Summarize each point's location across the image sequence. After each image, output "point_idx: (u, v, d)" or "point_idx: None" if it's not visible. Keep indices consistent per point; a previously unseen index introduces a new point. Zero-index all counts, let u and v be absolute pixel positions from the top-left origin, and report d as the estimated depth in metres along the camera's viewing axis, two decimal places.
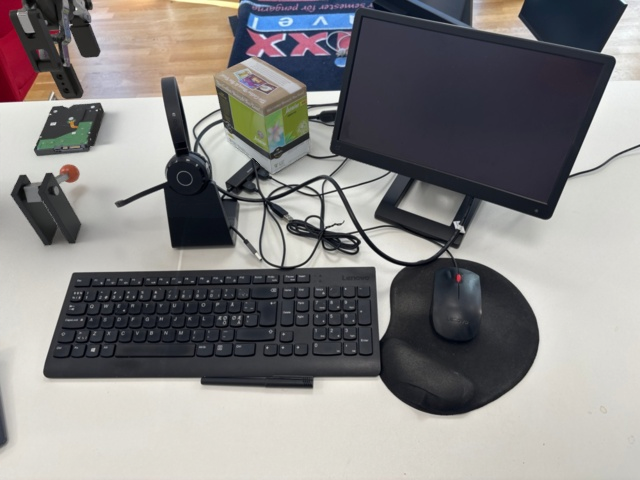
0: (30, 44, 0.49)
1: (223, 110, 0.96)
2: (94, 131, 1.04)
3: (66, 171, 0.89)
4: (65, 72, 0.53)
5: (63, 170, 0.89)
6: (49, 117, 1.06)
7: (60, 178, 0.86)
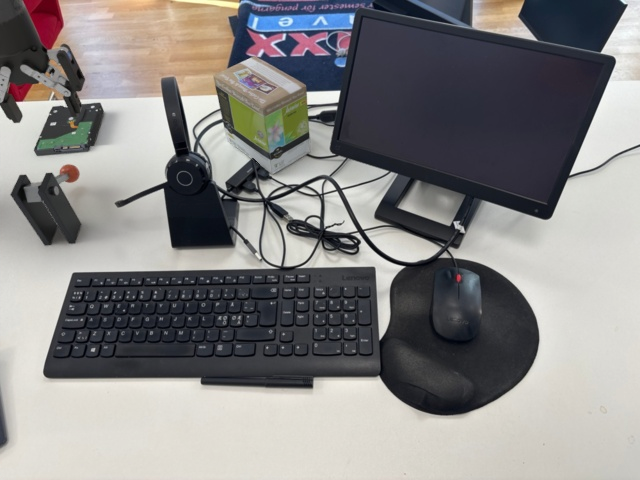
0: None
1: (223, 110, 0.96)
2: (94, 131, 1.04)
3: (66, 171, 0.89)
4: None
5: (63, 170, 0.89)
6: (49, 117, 1.06)
7: (60, 178, 0.86)
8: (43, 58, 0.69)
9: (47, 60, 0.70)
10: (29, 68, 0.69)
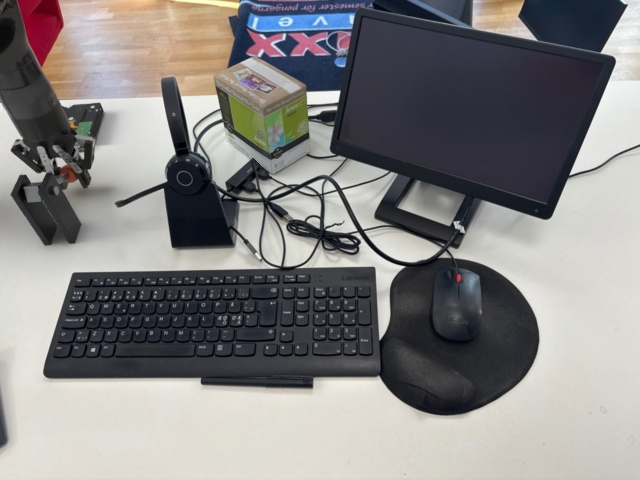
0: None
1: (223, 110, 0.96)
2: (94, 131, 1.04)
3: (66, 171, 0.89)
4: None
5: (63, 170, 0.89)
6: None
7: (60, 178, 0.86)
8: (71, 139, 0.84)
9: (75, 140, 0.84)
10: (60, 147, 0.84)
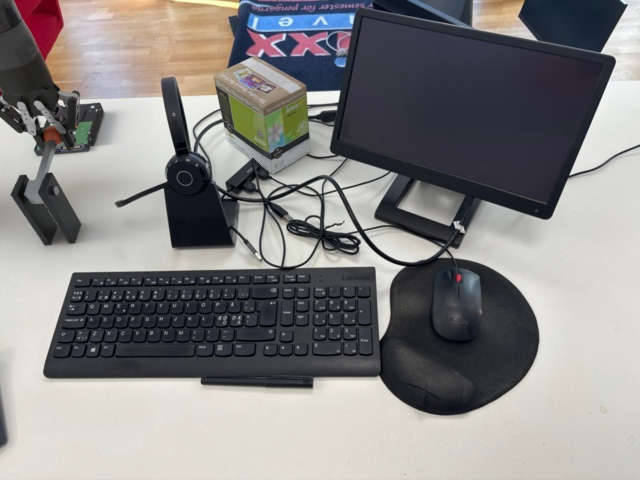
0: None
1: (223, 110, 0.96)
2: (94, 131, 1.04)
3: (51, 138, 0.84)
4: (33, 135, 0.84)
5: (48, 138, 0.84)
6: None
7: (50, 155, 0.83)
8: (54, 95, 0.79)
9: (57, 96, 0.79)
10: (41, 103, 0.79)
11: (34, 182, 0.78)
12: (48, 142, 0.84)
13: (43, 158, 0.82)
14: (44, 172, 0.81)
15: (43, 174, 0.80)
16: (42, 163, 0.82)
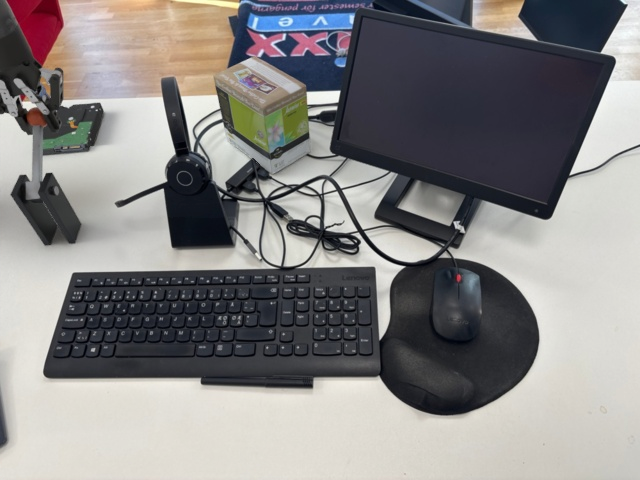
0: None
1: (223, 110, 0.96)
2: (94, 131, 1.04)
3: (37, 124, 0.80)
4: (15, 117, 0.80)
5: (33, 123, 0.80)
6: None
7: (40, 146, 0.80)
8: (35, 72, 0.74)
9: (39, 74, 0.74)
10: (22, 81, 0.74)
11: (32, 184, 0.78)
12: (34, 128, 0.80)
13: (34, 150, 0.80)
14: (39, 168, 0.79)
15: (38, 171, 0.79)
16: (34, 157, 0.79)
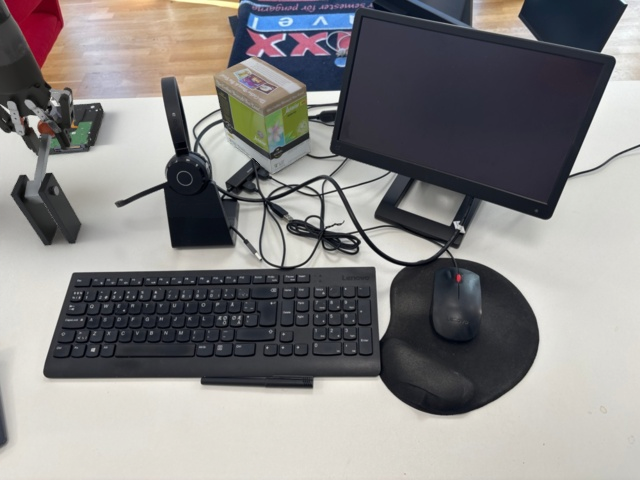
0: None
1: (223, 110, 0.96)
2: (94, 131, 1.04)
3: (46, 132, 0.83)
4: (21, 135, 0.82)
5: (43, 131, 0.83)
6: None
7: (46, 151, 0.82)
8: (45, 93, 0.76)
9: (49, 95, 0.77)
10: (32, 102, 0.76)
11: (33, 182, 0.78)
12: (43, 136, 0.83)
13: (39, 154, 0.81)
14: (42, 170, 0.80)
15: (41, 172, 0.80)
16: (39, 160, 0.81)
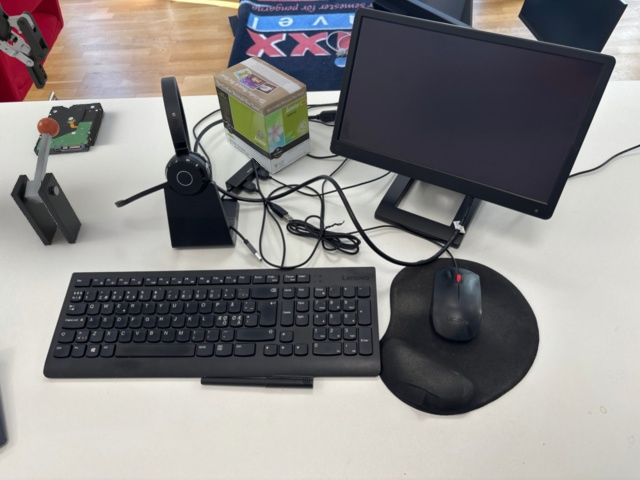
0: None
1: (223, 110, 0.96)
2: (94, 131, 1.04)
3: (46, 132, 0.83)
4: None
5: (43, 131, 0.83)
6: (49, 117, 1.06)
7: (46, 151, 0.82)
8: (3, 25, 0.68)
9: (8, 27, 0.68)
10: None
11: (33, 182, 0.78)
12: (43, 136, 0.83)
13: (39, 154, 0.81)
14: (42, 170, 0.80)
15: (41, 172, 0.80)
16: (39, 160, 0.81)
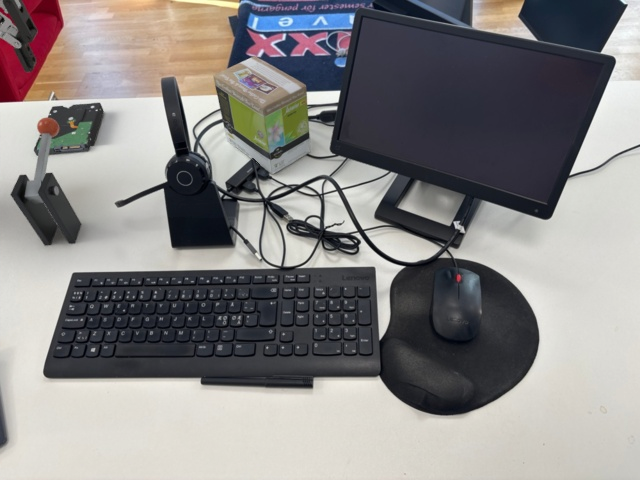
0: None
1: (223, 110, 0.96)
2: (94, 131, 1.04)
3: (46, 132, 0.83)
4: None
5: (43, 131, 0.83)
6: (49, 117, 1.06)
7: (46, 151, 0.82)
8: None
9: None
10: None
11: (33, 182, 0.78)
12: (43, 136, 0.83)
13: (39, 154, 0.81)
14: (42, 170, 0.80)
15: (41, 172, 0.80)
16: (39, 160, 0.81)
